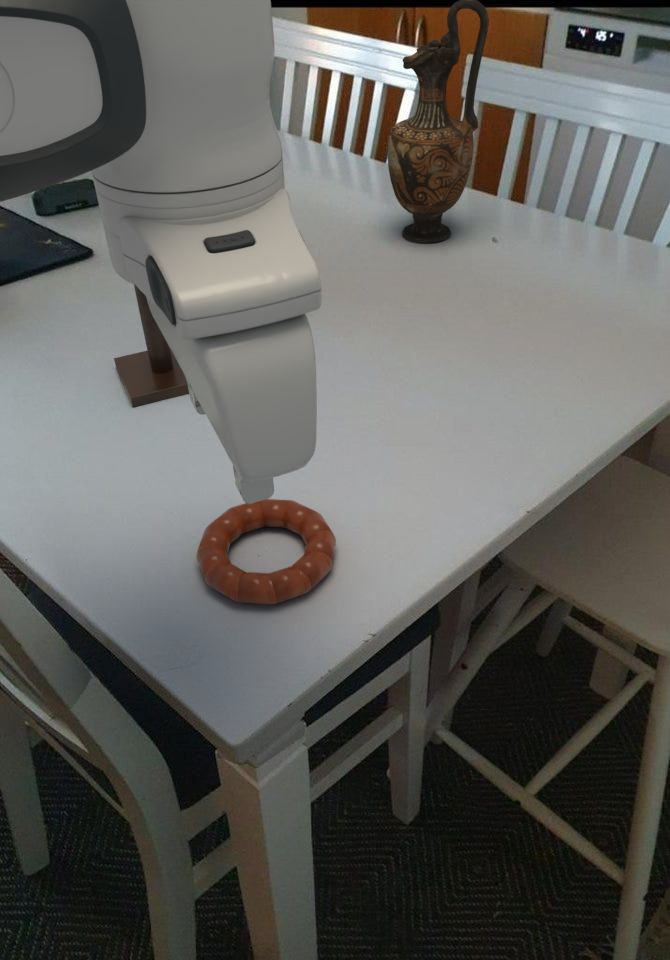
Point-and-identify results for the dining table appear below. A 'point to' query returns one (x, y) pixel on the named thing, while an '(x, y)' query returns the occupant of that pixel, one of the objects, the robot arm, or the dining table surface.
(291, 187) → the dining table surface
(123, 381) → the post
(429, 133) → the vase
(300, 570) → the ring
